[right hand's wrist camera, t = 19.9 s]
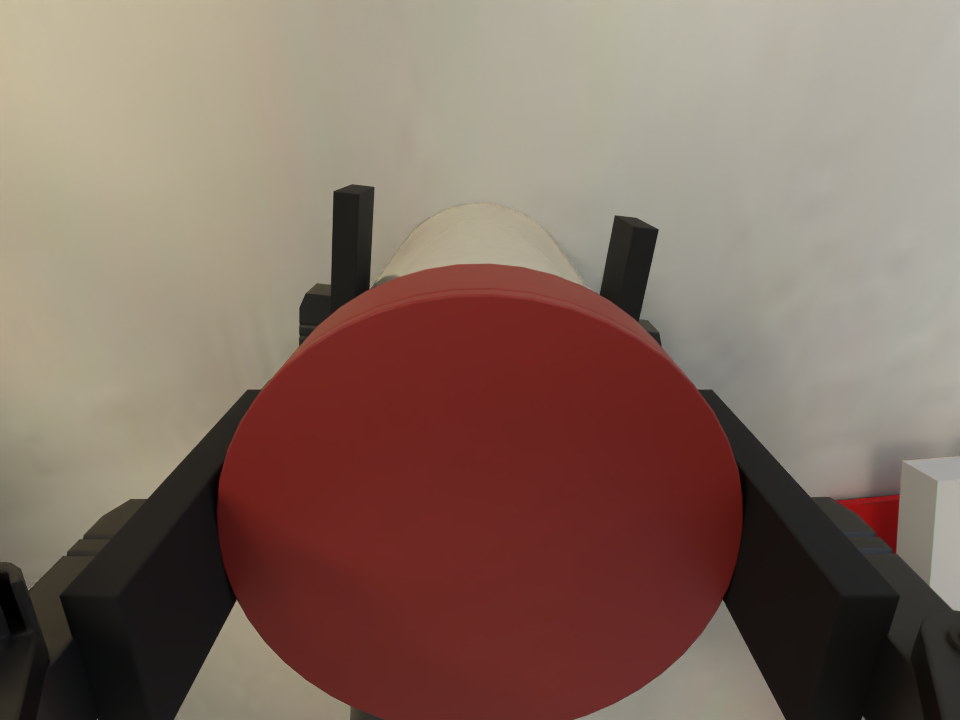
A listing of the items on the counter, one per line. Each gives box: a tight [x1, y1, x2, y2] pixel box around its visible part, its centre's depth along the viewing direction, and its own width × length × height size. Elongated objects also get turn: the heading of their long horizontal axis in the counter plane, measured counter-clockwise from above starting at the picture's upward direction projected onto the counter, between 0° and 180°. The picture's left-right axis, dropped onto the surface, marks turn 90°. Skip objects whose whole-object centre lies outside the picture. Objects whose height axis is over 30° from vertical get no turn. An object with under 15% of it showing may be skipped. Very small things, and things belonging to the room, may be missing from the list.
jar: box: [371, 203, 589, 289], centre depth 19 cm, size 8×8×17 cm
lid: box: [216, 264, 743, 720], centre depth 12 cm, size 9×9×2 cm
